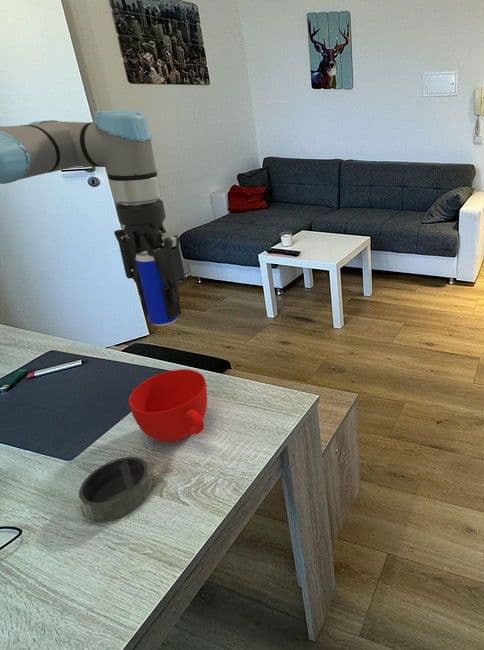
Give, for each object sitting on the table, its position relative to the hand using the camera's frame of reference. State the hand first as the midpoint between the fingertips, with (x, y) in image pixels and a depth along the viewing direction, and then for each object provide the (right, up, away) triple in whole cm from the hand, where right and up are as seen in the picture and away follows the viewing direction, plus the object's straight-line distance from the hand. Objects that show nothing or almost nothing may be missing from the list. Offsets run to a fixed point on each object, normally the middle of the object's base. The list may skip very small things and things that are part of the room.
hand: (163, 313), depth 87 cm
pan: (+2, -29, -16) cm, 33 cm away
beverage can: (0, -2, +1) cm, 2 cm away
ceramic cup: (+6, -24, -3) cm, 25 cm away
